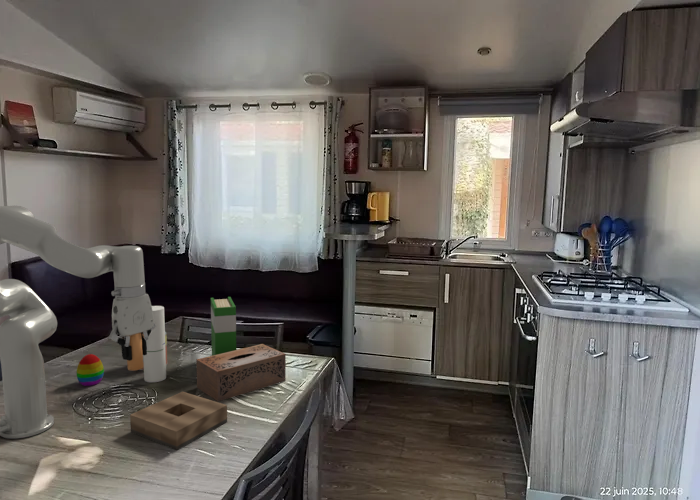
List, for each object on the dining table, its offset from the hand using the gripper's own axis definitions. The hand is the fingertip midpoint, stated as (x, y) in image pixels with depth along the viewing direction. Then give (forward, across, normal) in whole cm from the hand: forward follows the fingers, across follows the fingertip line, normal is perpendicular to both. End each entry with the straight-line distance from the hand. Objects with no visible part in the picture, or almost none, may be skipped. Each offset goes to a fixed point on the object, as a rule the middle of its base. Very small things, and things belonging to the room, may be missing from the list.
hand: (134, 356), depth 135 cm
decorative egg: (+19, +11, +40) cm, 45 cm away
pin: (+3, 0, 0) cm, 3 cm away
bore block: (+20, +5, -10) cm, 23 cm away
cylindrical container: (+20, +25, +24) cm, 40 cm away
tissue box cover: (+21, +37, -5) cm, 43 cm away
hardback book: (+21, +48, +14) cm, 54 cm away
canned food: (+20, +33, +36) cm, 53 cm away
